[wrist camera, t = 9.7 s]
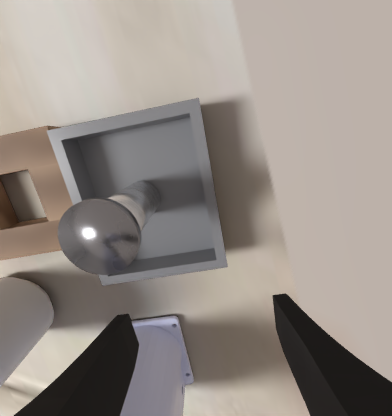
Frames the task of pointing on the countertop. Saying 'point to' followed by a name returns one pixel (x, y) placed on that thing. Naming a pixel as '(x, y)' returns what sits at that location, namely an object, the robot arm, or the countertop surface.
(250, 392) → the countertop surface
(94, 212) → the pin
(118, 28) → the countertop surface
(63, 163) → the tray
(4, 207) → the hitch block
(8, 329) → the can
